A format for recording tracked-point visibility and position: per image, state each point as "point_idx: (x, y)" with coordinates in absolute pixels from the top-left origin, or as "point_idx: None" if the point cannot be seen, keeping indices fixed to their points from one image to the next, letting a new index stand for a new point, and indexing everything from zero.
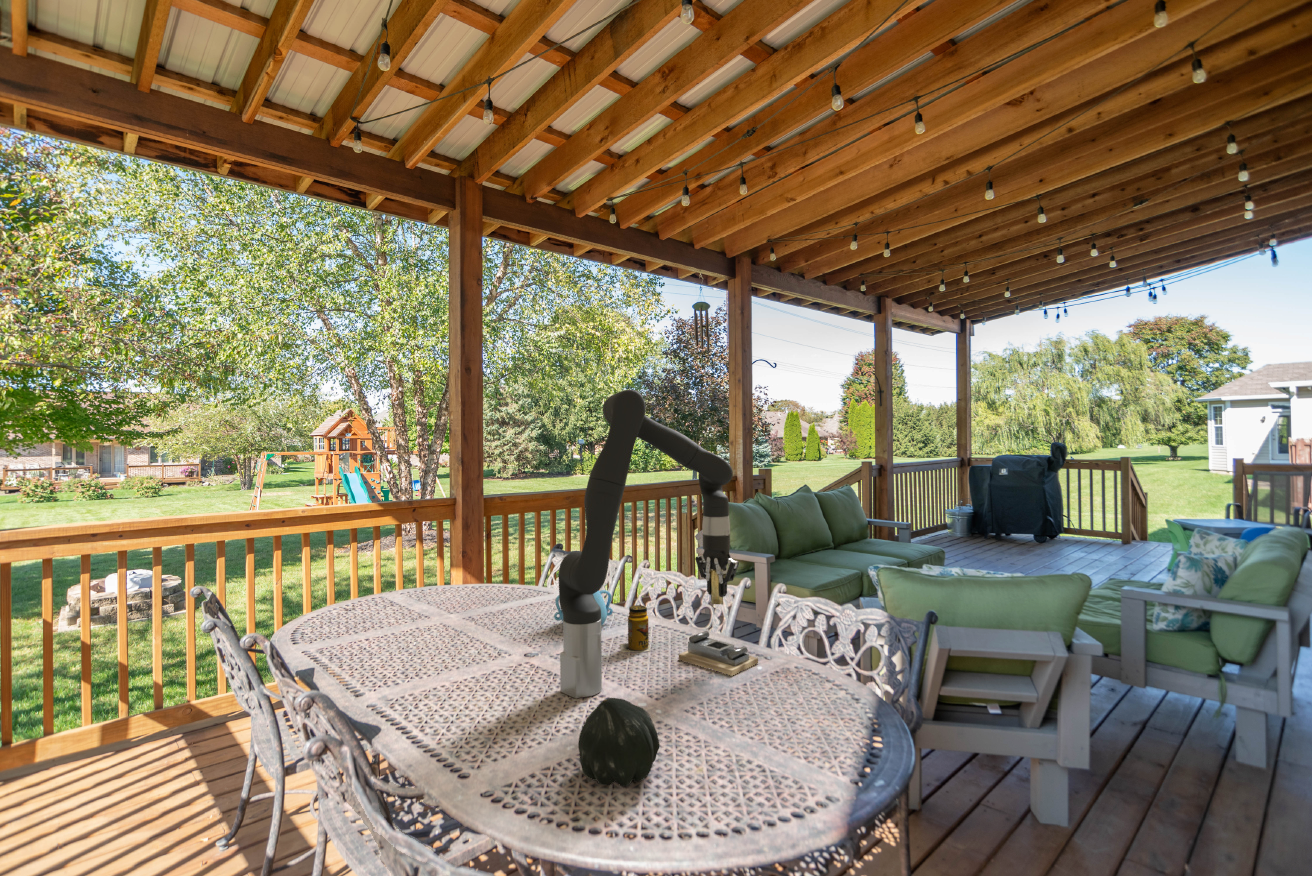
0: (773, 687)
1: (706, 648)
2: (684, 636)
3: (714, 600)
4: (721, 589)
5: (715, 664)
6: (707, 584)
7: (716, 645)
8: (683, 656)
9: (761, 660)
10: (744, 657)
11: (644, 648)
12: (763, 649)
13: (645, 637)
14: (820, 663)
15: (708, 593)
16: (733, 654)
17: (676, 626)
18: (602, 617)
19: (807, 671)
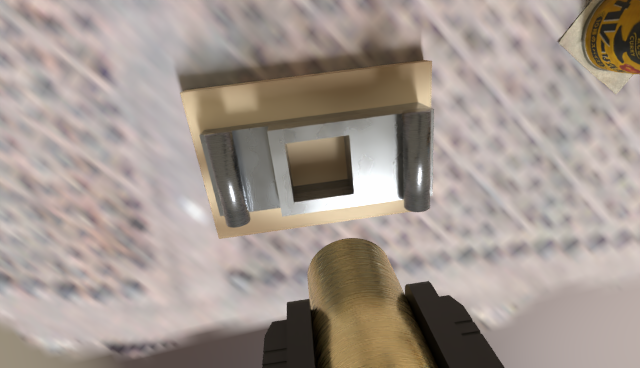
0: (31, 124)
1: (335, 120)
2: (544, 225)
3: (342, 255)
4: (289, 358)
5: (263, 91)
6: (486, 352)
7: (350, 187)
8: (407, 63)
9: (236, 253)
10: (214, 189)
11: (590, 30)
12: None
13: (624, 32)
14: (122, 344)
15: (427, 283)
16: (206, 144)
17: (616, 264)
18: None
19: (92, 285)
